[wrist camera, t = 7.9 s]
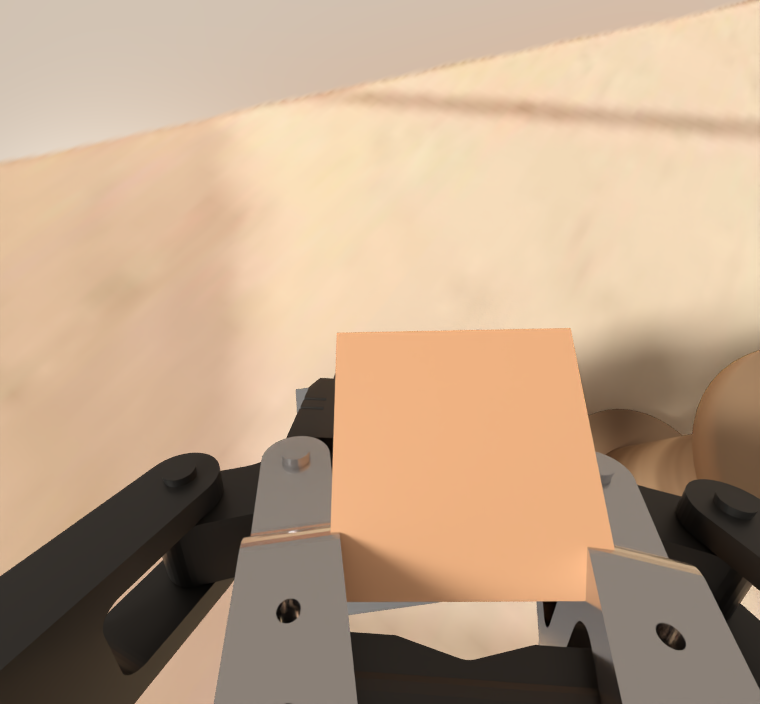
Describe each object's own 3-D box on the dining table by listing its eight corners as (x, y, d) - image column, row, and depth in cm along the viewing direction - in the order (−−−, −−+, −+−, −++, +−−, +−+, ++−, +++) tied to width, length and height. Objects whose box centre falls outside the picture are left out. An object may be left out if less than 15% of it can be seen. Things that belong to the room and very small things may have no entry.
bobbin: (668, 403, 25) (938, 318, 13) (730, 558, 22) (1168, 646, 9) (531, 422, 25) (669, 353, 12) (573, 580, 21) (812, 698, 9)
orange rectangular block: (458, 430, 15) (571, 327, 6) (466, 527, 14) (624, 600, 4) (370, 432, 15) (336, 332, 6) (370, 528, 14) (328, 602, 5)
